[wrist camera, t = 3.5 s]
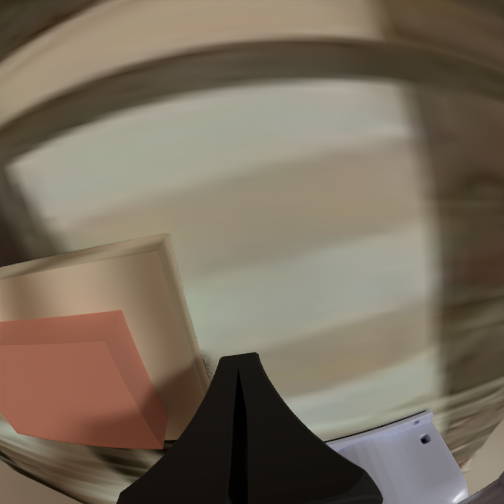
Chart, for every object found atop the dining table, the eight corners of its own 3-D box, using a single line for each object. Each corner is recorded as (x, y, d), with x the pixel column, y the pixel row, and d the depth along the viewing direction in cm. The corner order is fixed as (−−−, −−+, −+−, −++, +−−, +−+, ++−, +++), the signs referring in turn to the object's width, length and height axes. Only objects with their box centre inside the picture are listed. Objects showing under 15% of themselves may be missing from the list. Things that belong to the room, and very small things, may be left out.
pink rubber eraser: (121, 309, 11) (104, 341, 9) (168, 416, 13) (162, 449, 11) (-22, 323, 11) (-43, 344, 9) (30, 409, 13) (17, 433, 11)
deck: (168, 233, 12) (157, 250, 10) (218, 409, 15) (219, 437, 13) (-34, 275, 12) (-54, 290, 10) (36, 408, 15) (25, 427, 13)
